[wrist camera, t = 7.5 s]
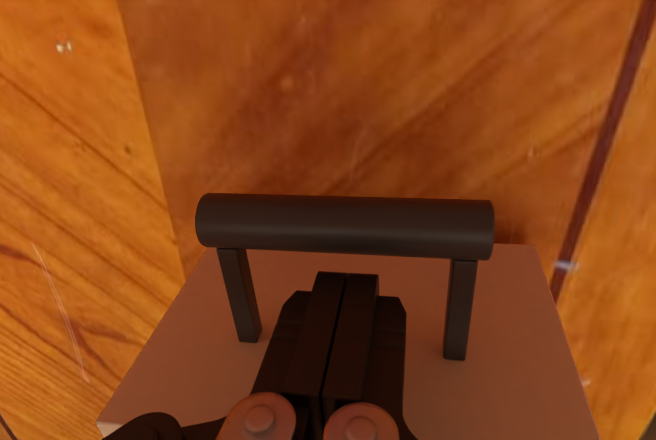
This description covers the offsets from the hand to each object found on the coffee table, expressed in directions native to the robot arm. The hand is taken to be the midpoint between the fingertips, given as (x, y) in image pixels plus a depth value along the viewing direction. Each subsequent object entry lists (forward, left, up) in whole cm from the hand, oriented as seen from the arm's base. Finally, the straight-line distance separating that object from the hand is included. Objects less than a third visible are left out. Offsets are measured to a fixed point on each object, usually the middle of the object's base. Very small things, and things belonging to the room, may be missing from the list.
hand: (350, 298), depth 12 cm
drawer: (0, +7, -6) cm, 9 cm away
